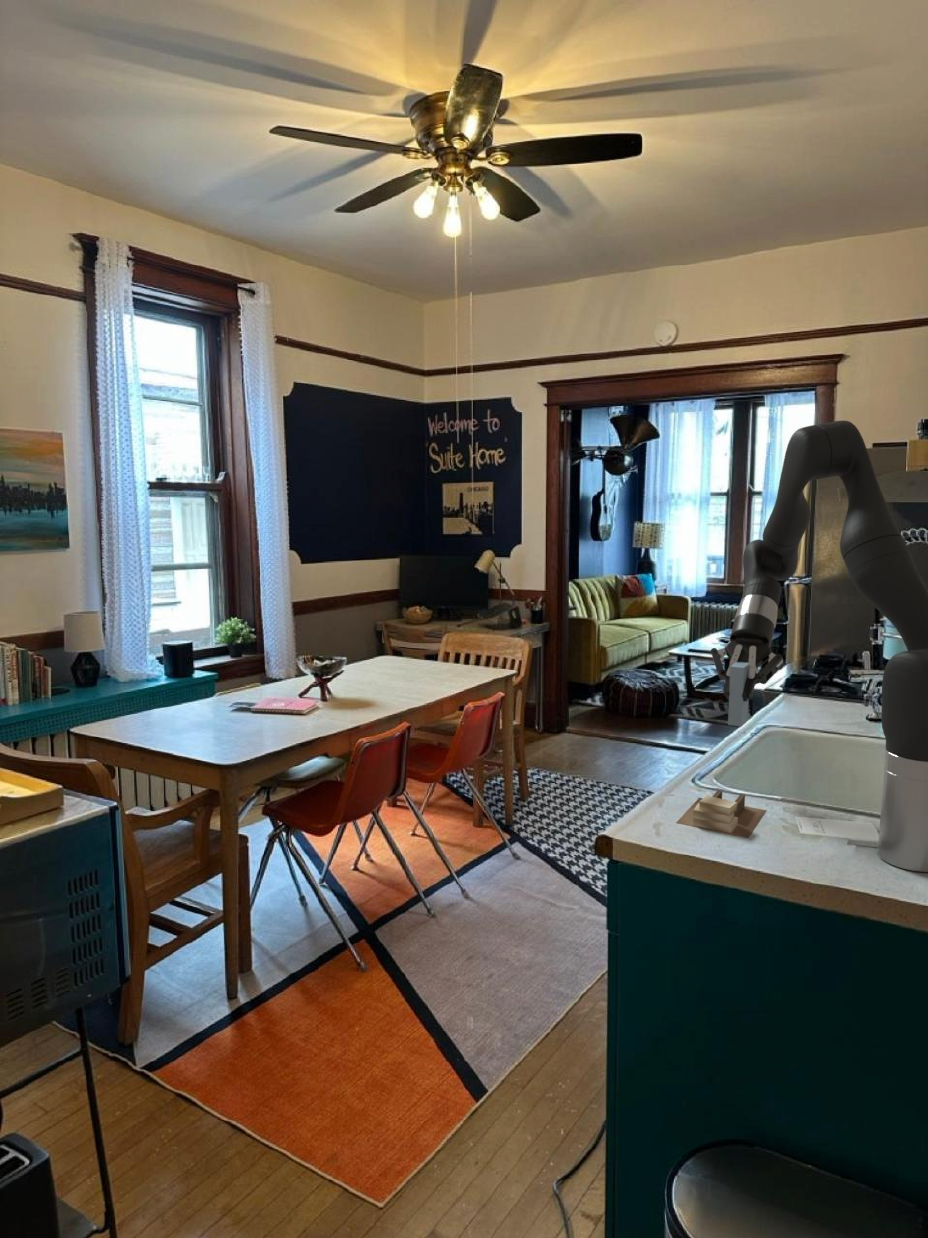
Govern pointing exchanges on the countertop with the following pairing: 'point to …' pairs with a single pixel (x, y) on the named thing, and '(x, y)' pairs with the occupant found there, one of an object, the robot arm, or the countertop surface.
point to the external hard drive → (841, 830)
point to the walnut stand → (745, 815)
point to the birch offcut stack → (715, 814)
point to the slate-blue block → (738, 694)
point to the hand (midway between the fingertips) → (736, 697)
